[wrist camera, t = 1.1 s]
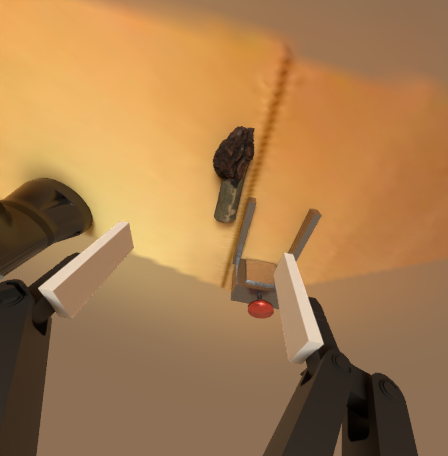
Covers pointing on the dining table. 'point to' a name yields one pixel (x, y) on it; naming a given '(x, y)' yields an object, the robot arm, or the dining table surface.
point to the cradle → (263, 267)
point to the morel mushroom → (232, 171)
